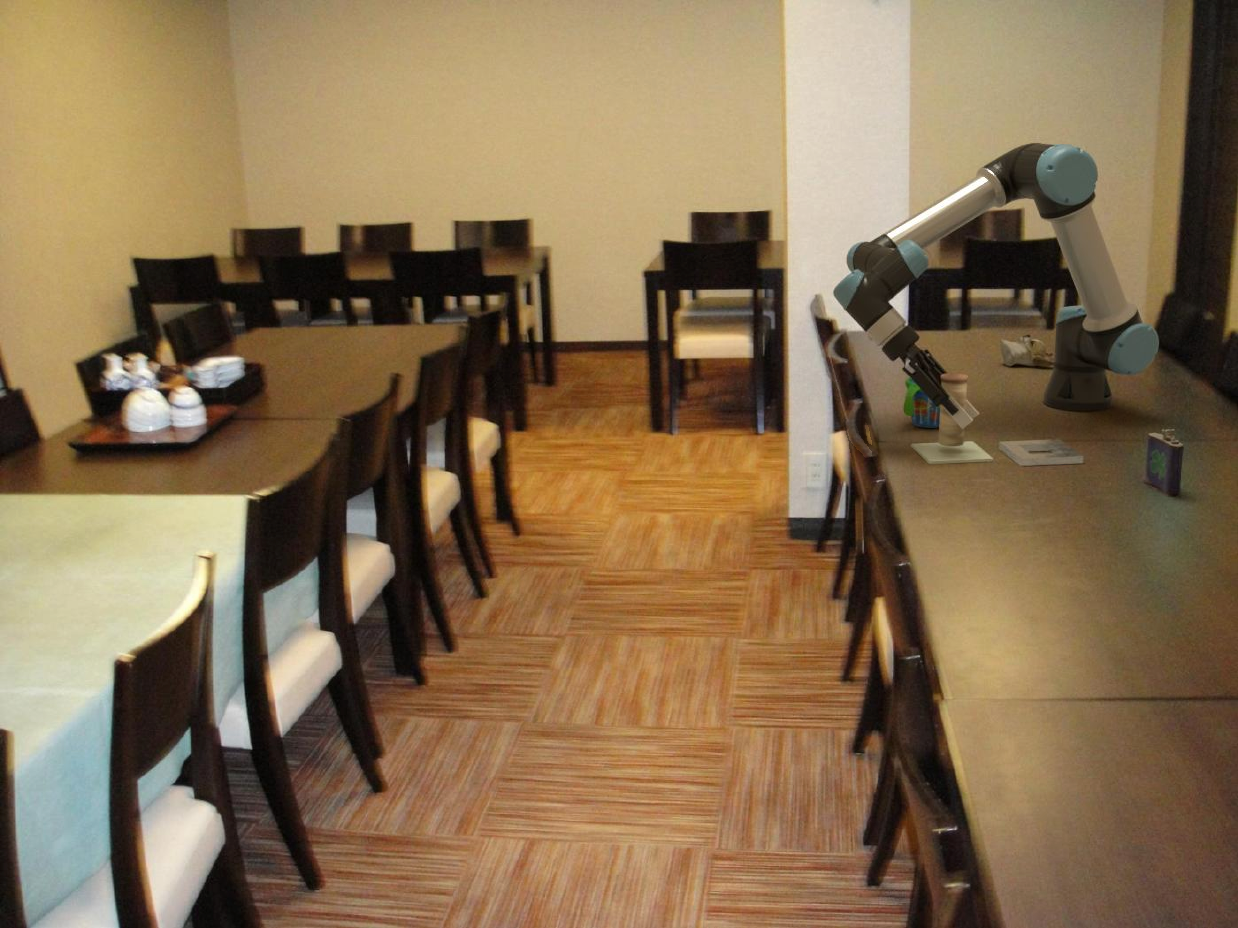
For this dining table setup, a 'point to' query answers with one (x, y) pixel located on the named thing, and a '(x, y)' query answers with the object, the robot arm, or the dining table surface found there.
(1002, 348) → the ceramic sculpture
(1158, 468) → the flask
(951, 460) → the mat
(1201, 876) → the dining table surface
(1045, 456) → the socket
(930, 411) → the snack cup
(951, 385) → the plug
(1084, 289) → the robot arm
